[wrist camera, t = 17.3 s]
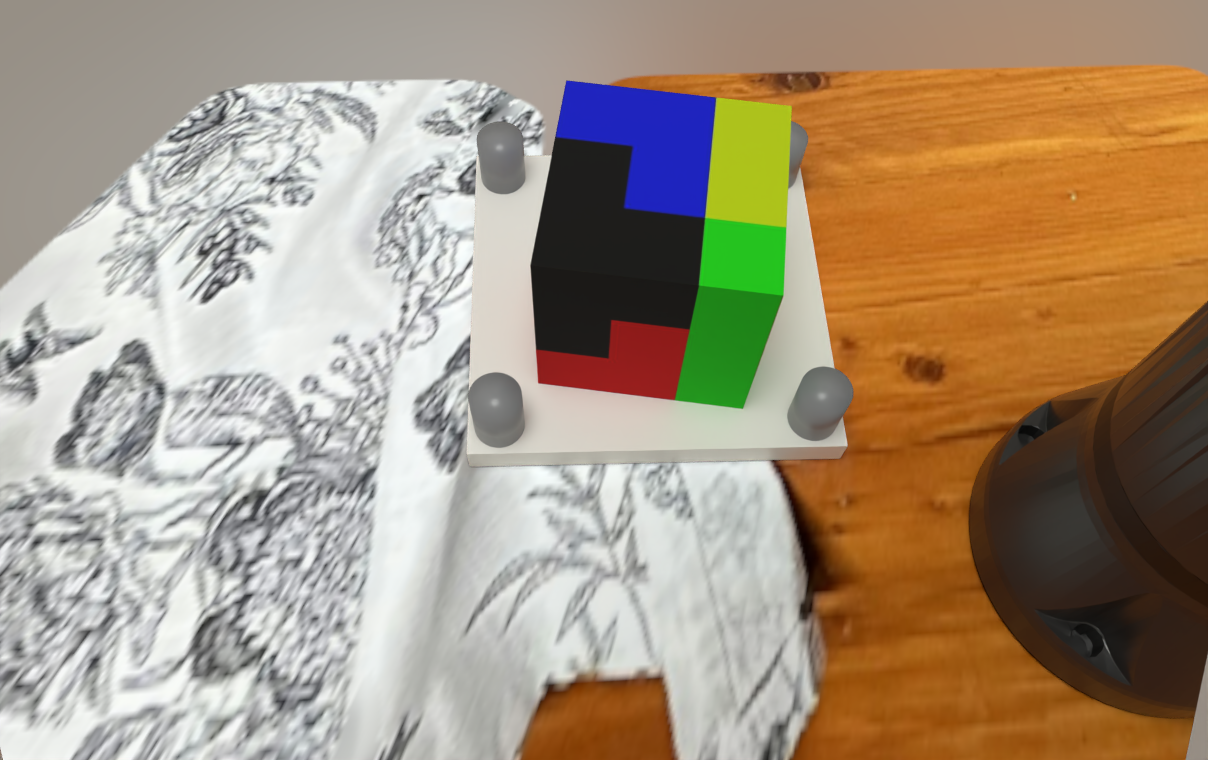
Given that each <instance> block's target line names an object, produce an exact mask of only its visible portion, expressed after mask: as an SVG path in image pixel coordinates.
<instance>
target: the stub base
mask: <svg viewBox="0 0 1208 760" xmlns="http://www.w3.org/2000/svg"><path fill="white" fill-rule="evenodd" d="M807 143H808V136H807V133H806V131H805V130H804V129H803V128H802V127H801V126H800V125H799V124H797V123H795V122H792V121H791V135H790V158H789V182H788V205H787V228H786V252H785V275H784V296H783V299H782V302H781V304H780V307H779V310H778V313H777V316H776V318H775V321H774V324H773V327H772V330H771V332H770V335H769V338H768V341H767V344H766V346H765V349H764V352H763V355H762V357H761V360H760V363H759V366H758V369H757V371H756V374H755V377H754V380H753V383H752V385H751V388H750V391H749V394H748V397H747V399H746V402H745V405H744V408H743V409H739V408H731V407H723V406H715V405H707V404H699V403H691V402H683V401H675V400H667V399H659V398H651V397H643V396H635V395H627V394H619V393H611V392H603V391H595V390H587V389H579V388H571V387H563V386H555V385H547V384H539V383H538V374H537V359H536V344H535V329H534V314H533V299H532V284H531V268H530V264H531V259H532V254H533V249H534V244H535V238H536V233H537V228H538V223H539V218H540V213H541V208H542V203H543V198H544V192H545V187H546V182H547V177H548V172H549V167H550V162H551V157H552V155H548V156H524V147H523V136H522V133H521V131H520V130H519V129H518V128H517V127H516V126H515V125H513V124H510V123H507V122H494V123H490V124H488V125H486V126H484V127H483V128H482V129H481V130H480V131H479V133H478V135H477V147H478V155H479V156H477V162H476V192H475V222H474V252H473V282H472V312H471V343H470V373H469V393H468V401H469V403H468V433H467V457H468V461H469V466H470V467H484V466H529V465H574V464H620V463H665V462H710V461H755V460H800V459H840V458H841V456H842V454H843V453H844V451H845V450H846V448H847V446H848V445H847V439H846V433H845V427H844V421H843V415H844V413H845V411H846V410H847V408H848V406H849V405H850V403H851V401H852V398H853V388H852V384H851V382H850V381H849V379H848V378H847V377H846V376H845V375H844V374H843V373H842V372H840V371H839V370H837V369H834V363H833V357H832V351H831V345H830V339H829V333H828V328H827V322H826V316H825V310H824V304H823V298H822V292H821V287H820V281H819V275H818V269H817V263H816V257H815V251H814V245H813V240H812V234H811V228H810V222H809V216H808V210H807V204H806V199H805V193H804V187H803V181H802V175H801V169H800V165H801V162H802V159H803V156H804V152H805V149H806V146H807Z"/></svg>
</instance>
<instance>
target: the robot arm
mask: <svg viewBox="0 0 1208 760" xmlns="http://www.w3.org/2000/svg"><path fill="white" fill-rule="evenodd" d="M969 525H970V538H971V545H972V550H973V555H974V559H975V563H976V566H977V569H978V572H979V575H980V578H981V580H982V583H983V585H984V587H985V590H986V592H987V594H988V596H989V598H990V600H991V601H992V603H993V605H994V607H995V608H996V610H997V612H998V613H999V615H1000V616H1001V618H1002V619H1003V621H1004V622H1005V624H1006V625H1007V626H1008V628H1009V629H1010V630H1011V632H1012V633H1013V634H1014V636H1015V637H1016V638H1017V639H1018V640H1019V641H1020V642H1021V644H1022V645H1023V646H1024V647H1025V648H1026V649H1027V650H1028V651H1029V652H1030V653H1031V654H1032V655H1033V656H1034V657H1035V658H1036V659H1037V660H1038V661H1039V662H1041V663H1042V664H1043V665H1044V666H1045V667H1046V668H1048V669H1049V670H1050V671H1051V672H1053V673H1054V674H1055V675H1057V676H1058V677H1059V678H1061V679H1062V680H1064V681H1065V682H1066V683H1068V684H1070V685H1071V686H1073V687H1075V688H1076V689H1078V690H1079V691H1081V692H1083V693H1085V694H1087V695H1089V696H1091V697H1093V698H1095V699H1097V700H1099V701H1101V702H1104V703H1106V704H1109V705H1111V706H1114V707H1117V708H1120V709H1123V710H1126V711H1129V712H1133V713H1138V714H1142V715H1147V716H1154V717H1162V718H1192V717H1195V718H1194V722H1193V727H1192V732H1191V737H1190V742H1189V747H1188V751H1187V756H1186V760H1208V301H1207V302H1206V303H1205V304H1204V305H1203V306H1202V307H1201V308H1199V309H1198V310H1197V311H1196V312H1195V313H1194V314H1193V315H1192V316H1191V317H1189V318H1188V319H1187V320H1186V321H1185V322H1184V323H1183V324H1182V325H1181V326H1179V327H1178V328H1177V329H1176V330H1175V331H1174V332H1173V333H1172V334H1170V335H1169V336H1168V337H1167V338H1166V339H1165V340H1164V341H1163V342H1162V343H1160V344H1159V345H1158V346H1157V347H1156V348H1155V349H1154V350H1153V351H1152V352H1150V353H1149V354H1148V355H1147V356H1146V357H1145V358H1144V359H1143V360H1142V361H1141V362H1139V363H1138V364H1137V365H1136V366H1135V367H1134V368H1133V369H1132V370H1131V371H1130V372H1129V373H1128V374H1127V375H1124V376H1121V377H1118V378H1114V379H1111V380H1108V381H1104V382H1101V383H1098V384H1095V385H1091V386H1088V387H1085V388H1081V389H1078V390H1075V391H1071V392H1068V393H1065V394H1062V395H1060V396H1057V397H1055V398H1053V399H1051V400H1049V401H1047V402H1045V403H1043V404H1041V405H1040V406H1038V407H1036V408H1035V409H1033V410H1032V411H1030V412H1029V413H1028V414H1026V415H1025V416H1024V417H1023V418H1022V419H1020V420H1019V421H1018V422H1017V423H1016V424H1015V425H1014V426H1013V427H1012V428H1011V429H1010V430H1009V431H1008V432H1007V433H1006V435H1005V436H1004V437H1003V438H1002V439H1001V440H1000V441H999V442H998V443H997V444H996V445H995V446H994V448H993V449H992V450H991V451H990V453H989V454H988V456H987V457H986V459H985V461H984V463H983V464H982V466H981V468H980V471H979V473H978V475H977V478H976V481H975V484H974V487H973V492H972V496H971V503H970V515H969ZM0 760H3V758H2V754H1V749H0Z"/></svg>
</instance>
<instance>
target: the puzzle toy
mask: <svg viewBox="0 0 1208 760" xmlns="http://www.w3.org/2000/svg"><path fill="white" fill-rule="evenodd" d="M791 111H792V106H785V105H776V104H768V103H759V102H750V101H742V100H733V99H724V98H715V97H707V96H698V95H689V94H680V93H672V92H663V91H654V90H645V89H637V88H628V87H619V86H610V85H602V84H593V83H584V82H575V81H566V85H565V91H564V95H563V101H562V106H561V111H560V116H559V121H558V126H557V132H556V137H555V141H554V147H553V152H552V157H551V162H550V167H549V172H548V177H547V182H546V187H545V192H544V198H543V203H542V208H541V213H540V218H539V223H538V228H537V233H536V238H535V244H534V249H533V254H532V259H531V264H530V268H531V284H532V299H533V314H534V329H535V344H536V359H537V374H538V383H539V384H547V385H555V386H563V387H571V388H579V389H587V390H595V391H603V392H611V393H619V394H627V395H635V396H643V397H651V398H659V399H667V400H675V401H683V402H691V403H699V404H707V405H715V406H723V407H731V408H739V409H743V408H744V405H745V402H746V399H747V397H748V394H749V391H750V388H751V385H752V383H753V380H754V377H755V374H756V371H757V369H758V366H759V363H760V360H761V357H762V355H763V352H764V349H765V346H766V344H767V341H768V338H769V335H770V332H771V330H772V327H773V324H774V321H775V318H776V316H777V313H778V310H779V307H780V304H781V302H782V299H783V296H784V275H785V252H786V228H787V205H788V182H789V158H790V135H791Z"/></svg>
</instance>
